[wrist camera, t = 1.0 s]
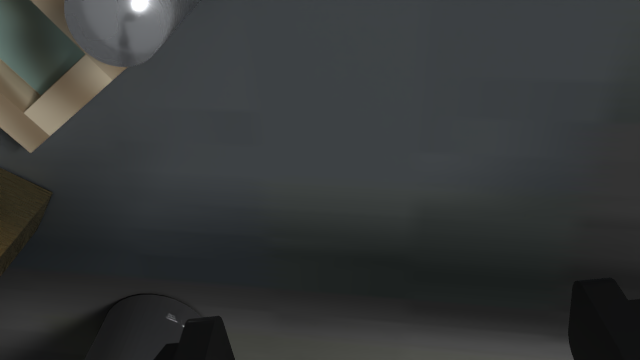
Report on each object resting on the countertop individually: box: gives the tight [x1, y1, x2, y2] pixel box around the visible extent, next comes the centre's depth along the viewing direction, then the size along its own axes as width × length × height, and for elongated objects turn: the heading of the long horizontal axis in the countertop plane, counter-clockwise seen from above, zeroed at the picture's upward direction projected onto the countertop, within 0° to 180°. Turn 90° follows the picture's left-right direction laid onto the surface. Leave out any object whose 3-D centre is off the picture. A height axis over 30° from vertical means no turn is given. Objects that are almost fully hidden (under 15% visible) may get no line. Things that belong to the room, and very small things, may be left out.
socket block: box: [0, 0, 127, 153], centre depth 34 cm, size 10×10×4 cm
